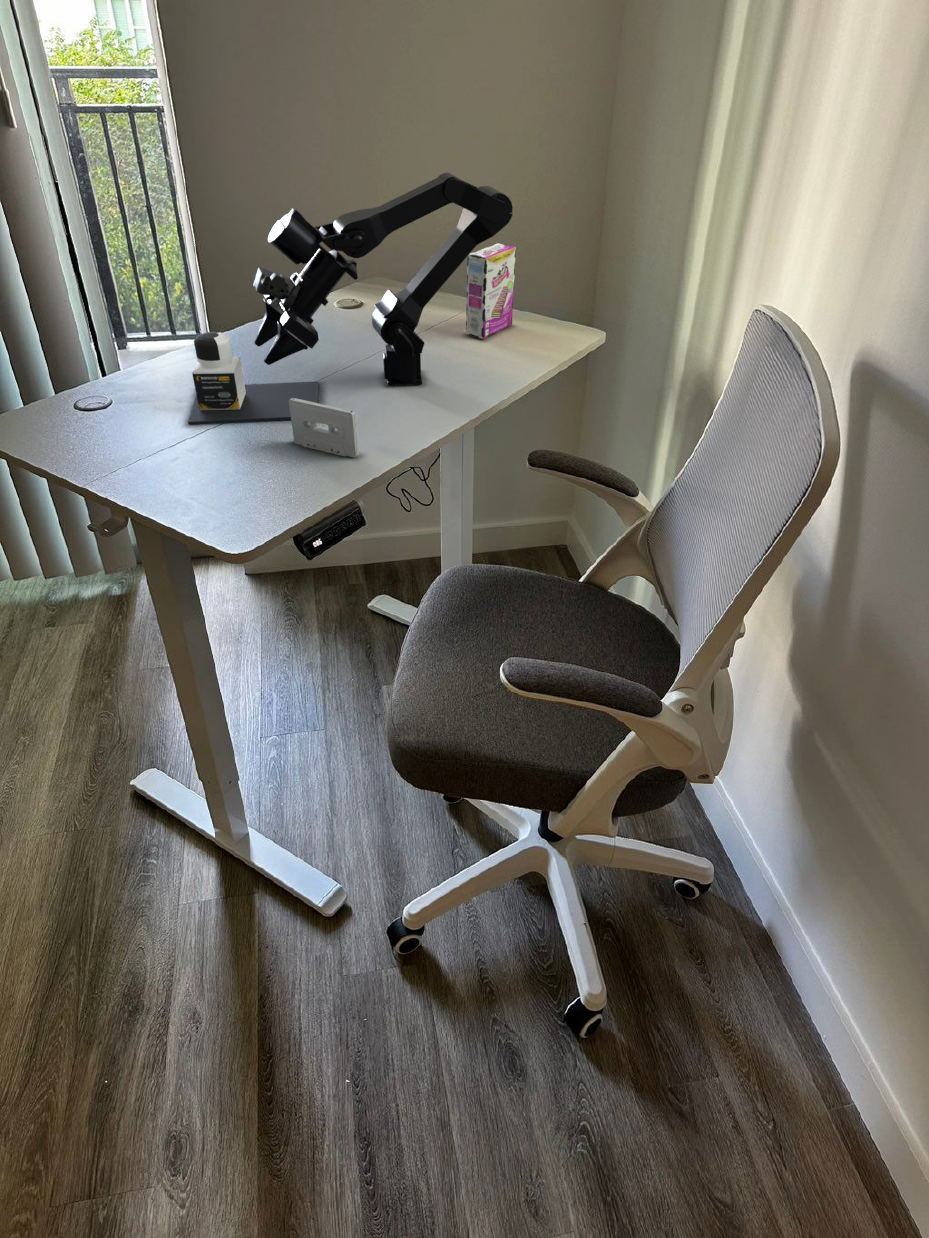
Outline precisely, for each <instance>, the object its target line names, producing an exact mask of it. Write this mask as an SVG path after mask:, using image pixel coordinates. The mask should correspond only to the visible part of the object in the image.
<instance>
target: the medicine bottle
mask: <svg viewBox="0 0 929 1238" xmlns="http://www.w3.org/2000/svg"><path fill="white" fill-rule="evenodd" d="M193 345H194V350H195V356H196V364H195V366H194V368H193V369H192V372H191V375H192V380H193V384H194V385H193V386H194V391H195V396H196V395H197V400H198V405H199V409H200V410H239V409H240V408H241V405H242V402H243V400H244V397H245V394H246V390H245V385H246V384H245V380H244V378H245V377H244V372H243V365H242V359H241V356H240V355H234V353H233V348H232V341H231V337H230V336H229V335H228V334H227V333H224V332H222V331H221V332H220V331H207V332H203V333H200V334H199V335H197V336H195V338H194V340H193Z"/></svg>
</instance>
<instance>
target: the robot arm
mask: <svg viewBox="0 0 929 1238" xmlns="http://www.w3.org/2000/svg"><path fill="white" fill-rule="evenodd" d="M449 204H455V205H456V206H459V207H461V208H463V209H462V211H461V215H460V217H459V221H458V222H457V225H456V226H455V228H454V230H452V232H451V233H449V235H448V237H447V238H446V239H445V240H444V241H443V242H442V243H441V245H439V247H438V249H436V251H435V252H434V253H433V254H432V255H431V257H430V258H429V259H428V260H427V261H426V262H425V263H424V265H423V266H422V267H421V269H420V270H419V271H418V272H417V273H416V274H415V276H414V277H413V278H412V279H411V281H409V283H408V284H407V285H406V286H405V287H404V288H403V289H402V290H400V291H398V292H396V293H394V292H393V291H392V290H391V289H387V290H386V292H385V293H384V295H383V297H381V300H379V301H378V302H377V303H375V304H374V305H373V307H374V308H375V309H374V311H373V312H372V315H371V324H372V327H373V329H374V330H375V332H376V333H377V335H378V336H379V337H380V338H381V339H382V340H383V342H384V343H385V352H384V353H382V361H383V376H384V379H385V380H386V382H387V386H388V387H395V386H396V387H397V386H416V385H417V386H419V385H423V378H422V361H421V358H422V357H421V356H422V355H421V354H422V353H423V350H424V346H425V341H424V340H423V339H422V338H421V337H420V336H419V334H417V332H416V331H415V330H416V329H417V327H418V325H419V322H420V320H421V316H422V313H423V310H424V308H425V307H426V305H428V303H429V302H430V301H431V300H432V299H433V297H434V296H435V295H436V294H437V293H438V292H439V290H440V289H441V288H442V287H443V285H444V284H445V283H447V281H448V280H449V278H450V277H451V276H452V275H453V274H454V273H455V272H456V270H457V269H458V268H459V267H460V266H461V265H462V263H464V261H465V260H466V258H467V256H468V255H469V254H470V253H472V252H473V251H474V250H475V248H476V247H477V246H478V245H480V244H481V243H484V242H486V241H487V240H489V239H492V238H493V237H494V236H496V235H497V234H498V233H499V232H500V231H502V230H503V229H504V228H505V227H506V226H508V224H509V223H510V221H511V220H512V218H513V216H514V215H513V214H514V213H513V208H514V207H513V203H512V201H511V198H510V197H508V196H507V194H505V193H503V192H501V191H500V190H498V189H496V188H494V187H492V186H489V185H480V186H479V187H478V186H475V185H474V184H471V183H469V182H467V181H464V180H462V179H461V178H459V177H457V176H456V175H454V174H452V173H451V172H442V173H440V174H439V175H438V176H437V177H436V178H434V179H432V180H430V181H428V182H426V183H424V184H422V185H419V186H417V187H416V188H414V189H412V190H409V191H407V192H406V193H403V194H401V195H399V196H397V197H395V198H393V199H391V200H389V201H387V202H385V203H383V204H381V205H378V206H375V207H370V208H361V209H357V210H354V211H350V212H346V213H343V214H340V215H339V216H338V217H336V218H335V220H334V221H332V222H329V223H326V224H321V225H316V226H313V225H312V224H311V223H310V222H309V221H308V220H307V219H306V218H305V217H304V216H303V215H302V213H301V212H300V211H299V210H297V209H296V207H292V208H291V210H290V211H289V212H288V213H286V214H284V215H283V216H282V217H281V218H280V219H277V221H276V222H275V223H274V225H273V226H272V228H271V230H270V232H269V234H268V237H267V242H268V243H269V244H270V245H271V246H273V247H274V248H275V249H277V250H278V251H279V252H280V253H281V254H282V255H284V256H285V257H286V258H287V259H289V260H290V261H291V262H292V263H293V264H294V265H297V266H298V265H299V264H302V265H305V266H304V268H303V269H302V270H301V272H300V273H298V272H294V273H292V274H291V275H290V277H288V276H285V275H282V274H281V273H278V272H275V271H272V270H269V269H266V268H263V267H258V268H257V271H256V274H255V278H254V280H253V281H254V282H253V285H252V286H253V287H254V288H255V291H256V292H257V293H258V294H260V295H263V296H264V298H262V302H263V307H264V312H265V314H264V316H263V319H262V321H261V323H260V326H259V329H258V331H257V334H256V337H255V340H254V345H256V346H257V347H261V346H263V345H264V344H266V343H268V342H269V341H270V340H272V339H274V338H275V337H276V338H275V339H274V341H273V342H272V345H271V346H270V348H269V350H268V352H267V353H266V355H265V357H264V360H263V362H264V364H266V365H267V366H270V365H273V364H275V363H277V362H279V361H281V360H283V359H285V358H287V357H289V356H291V355H294V354H296V353H298V352H301V351H303V350H306V351H307V350H308V349H309V348H310V349H314V347H315V346H316V344H318V342H319V332H318V330H317V329H316V327H315V326H314V325H313V323H314V319H313V316H314V315H315V314H316V313H317V311H318V309H319V308H320V307H321V306H324V307H326V306H327V305H328V303H329V300H328V297H329V296H330V294H331V293H332V292H333V290H334V289H335V288H336V287H337V285H338V284H339V283H340V281H341V280H342V278H343V277H344V276H345V275H346V274H347V275H348V276H349V277H350V278H351V279H353V280H354V281H357V280H358V279H359V277H358V271H357V266H358V262H357V261H356V260H355V259H360V258H363V257H365V256H367V255H368V254H369V253H371V252H372V251H374V250H375V249H376V248H377V247H379V246H380V245H381V244H382V242H384V240H386V238H387V237H388V236H389V235H391V234H392V233H394V232H395V231H397V230H399V229H401V228H403V227H406V226H407V225H409V224H411V223H414V222H415V221H418V220H419V219H421V218H423V217H425V216H428V215H430V214H431V213H434V212H435V211H438V210H440V209H442V208H443V207H446V206H447V205H449ZM321 243H323V245H325V246H326V247H327V248H328V249H329V250H330V251H328V250H327V249H326V248H325V247H324V246H323V245H322V244H321ZM340 252H342V253H343V254H344V255H346V256H347V257H349V258H353V259H347V258H345V257H344V255H342V253H340Z"/></svg>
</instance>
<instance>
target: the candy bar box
mask: <svg viewBox="0 0 929 1238" xmlns="http://www.w3.org/2000/svg"><path fill="white" fill-rule="evenodd" d="M516 255H517V247H516V246H512V245H510V244H505V243H504V244H502V243H496V244H492V245H488V246H486V247H484V248H481V249H479V250H476V251H472V252H471V253H470V254H469V255H468V256H467V257H466V258H467V261H466V262H467V263H466V309H465V311H466V314H465V315H466V316H465V335H466V336H469V337H473V338H476V339H478V340H479V339H480V340H485V339H487V338H489V337H491V336H493V335H496V334H497V333H499V332H501V331H503V330H505V329H507V328H509V327H511V326H512V325H513V313H514V312H513V311H514V295H515V293H514V292H515V277H516V276H515V274H516V273H515V272H516Z"/></svg>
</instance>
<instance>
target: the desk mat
mask: <svg viewBox="0 0 929 1238" xmlns="http://www.w3.org/2000/svg"><path fill="white" fill-rule="evenodd" d="M245 390H246V394H245V397H244V400H243V402H242V405H241V408H240V409H239V410H200V409H199V405H198V400H197V395H196V394H195V397H194V400H193V404H192V408H191V411H190V414H189V418H188V421H187V424H188V426H195V425H196V426H198V425H215V424H237V423H239V424H241V423H258V422H260V423H261V422H277V421H278V422H279V421H291V414H290V406H289V400H290V399H292V398H296V399H301V400H305V401H310V402H314V403H319V404H320V402H319V401H320V399H319V398H320V381H319V380H318V381H317V380H316V381H315V380H314V381H296V382H295V381H294V382H293V381H292V382H271V383H252V384H248V383H247V384H245Z"/></svg>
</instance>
